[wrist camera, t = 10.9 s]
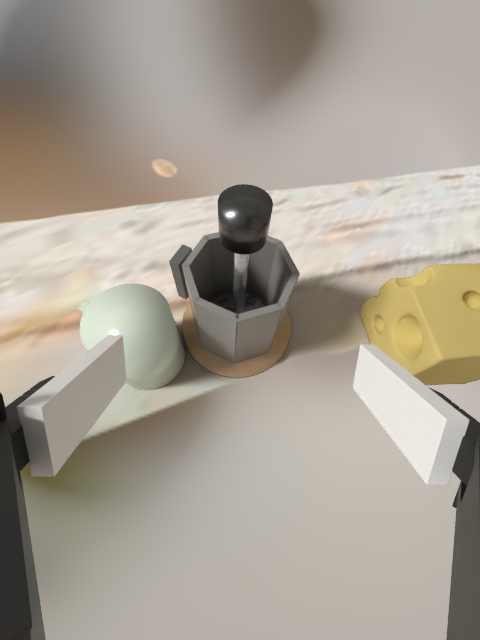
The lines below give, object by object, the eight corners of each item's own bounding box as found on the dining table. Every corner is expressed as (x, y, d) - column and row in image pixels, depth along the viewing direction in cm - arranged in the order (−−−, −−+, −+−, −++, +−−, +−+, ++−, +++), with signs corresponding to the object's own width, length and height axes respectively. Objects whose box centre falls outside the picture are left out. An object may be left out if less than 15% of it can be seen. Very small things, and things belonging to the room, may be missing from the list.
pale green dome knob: (128, 310, 35) (98, 263, 27) (197, 343, 33) (187, 303, 25) (86, 362, 31) (39, 326, 23) (160, 402, 30) (136, 378, 22)
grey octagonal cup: (212, 267, 38) (207, 199, 28) (304, 306, 36) (332, 246, 26) (159, 346, 32) (130, 294, 23) (264, 398, 30) (282, 364, 20)
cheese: (356, 310, 36) (398, 259, 27) (436, 309, 37) (502, 259, 28) (378, 391, 31) (438, 361, 22) (470, 388, 32) (564, 357, 23)
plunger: (225, 287, 34) (224, 161, 20) (273, 307, 33) (307, 189, 19) (199, 328, 31) (177, 216, 17) (250, 352, 30) (271, 253, 16)
